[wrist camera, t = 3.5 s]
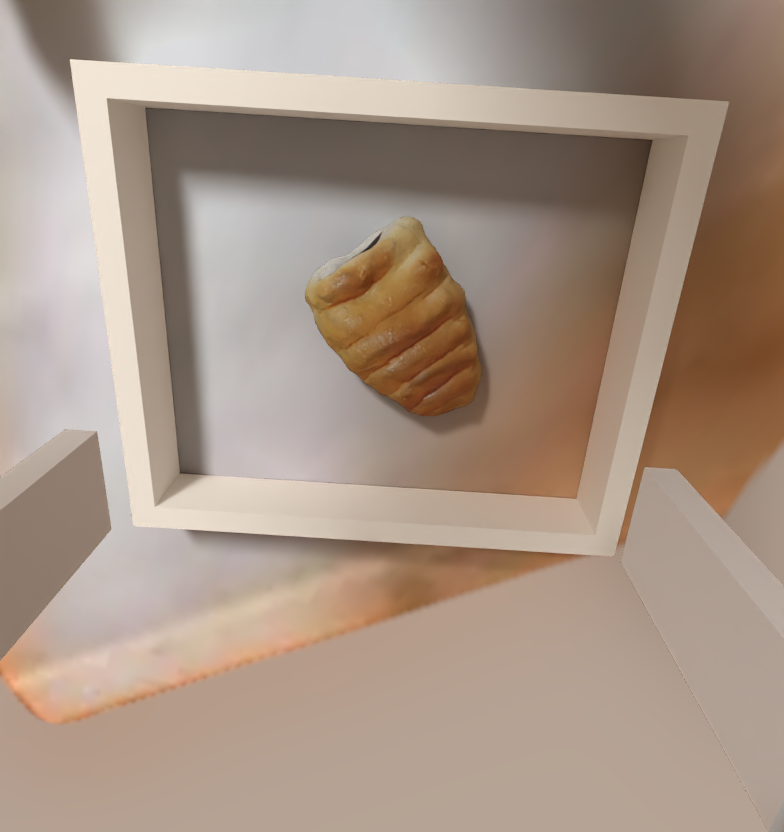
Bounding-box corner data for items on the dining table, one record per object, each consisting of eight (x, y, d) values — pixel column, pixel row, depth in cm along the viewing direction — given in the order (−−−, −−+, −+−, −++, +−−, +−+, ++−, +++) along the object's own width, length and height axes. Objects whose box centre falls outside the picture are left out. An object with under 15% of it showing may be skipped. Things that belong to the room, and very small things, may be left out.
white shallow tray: (160, 490, 33) (133, 525, 29) (113, 73, 25) (69, 59, 21) (593, 518, 33) (614, 556, 29) (687, 110, 25) (729, 101, 21)
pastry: (512, 363, 29) (525, 389, 26) (402, 430, 31) (401, 464, 28) (408, 201, 27) (407, 207, 23) (293, 285, 28) (276, 302, 25)
